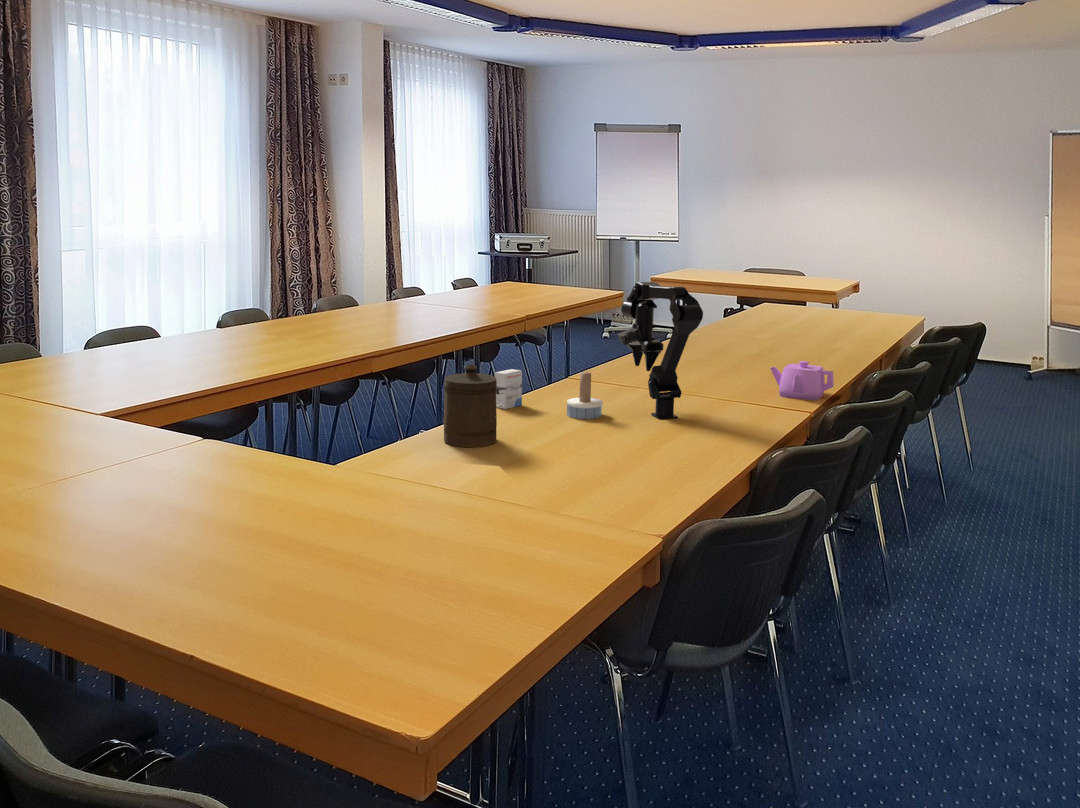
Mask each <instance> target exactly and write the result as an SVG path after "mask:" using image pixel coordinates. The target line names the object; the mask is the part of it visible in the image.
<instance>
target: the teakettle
mask: <svg viewBox="0 0 1080 808" xmlns="http://www.w3.org/2000/svg"><path fill="white" fill-rule="evenodd" d="M809 363H810V362H809V361H807V360H800V361H799V362H798V363H788V364H787V365H785V366H784V368H783V369H782V372H780V370H779V369H778V368H777V367H776V366H771V367H770V368H769V369H770V371H771V373H772V375H773V377H774V379H775V381H776V383H777V386H778V387H779V389H778V392H779V397H782V398H788V399H795V400H805V401H806V400H807V401H818V400H819V399H821V398H822V397H823V396H824V393H825V391H827V390H830V389H832V388H834V387H835V386H834V385H835V384H834V383H835V382H834V370H825V369H824V367H823V366H820V365H812V364H809ZM825 375H826V376H827V377H826V380H825ZM825 381H826V382H825Z"/></svg>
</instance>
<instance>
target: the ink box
mask: <svg viewBox="0 0 1080 808" xmlns="http://www.w3.org/2000/svg"><path fill="white" fill-rule="evenodd" d="M494 377H496V380H497V387H496V409H497V408H498V409H502V408H503V410H508V408H509V409H512V408H516V407H520V406H522V405H523V371H522V370H521V369H513V368H511V369H506V370H501V371H495V372H494ZM500 404H501V405H500ZM497 405H499V406H497Z"/></svg>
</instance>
